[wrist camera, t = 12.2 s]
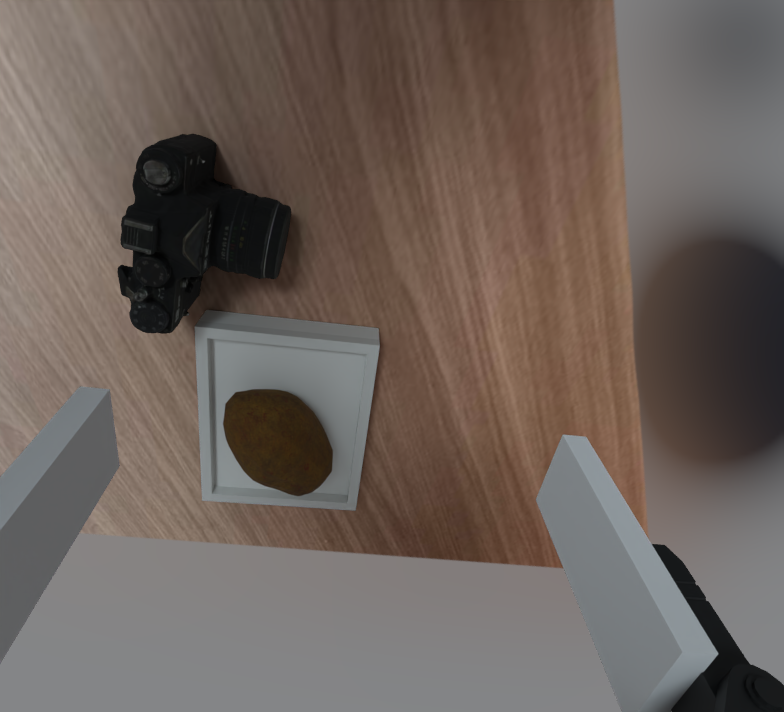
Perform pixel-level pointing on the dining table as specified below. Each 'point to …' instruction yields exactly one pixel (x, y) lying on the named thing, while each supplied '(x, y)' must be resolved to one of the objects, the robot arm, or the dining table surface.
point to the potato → (278, 440)
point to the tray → (292, 374)
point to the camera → (191, 231)
